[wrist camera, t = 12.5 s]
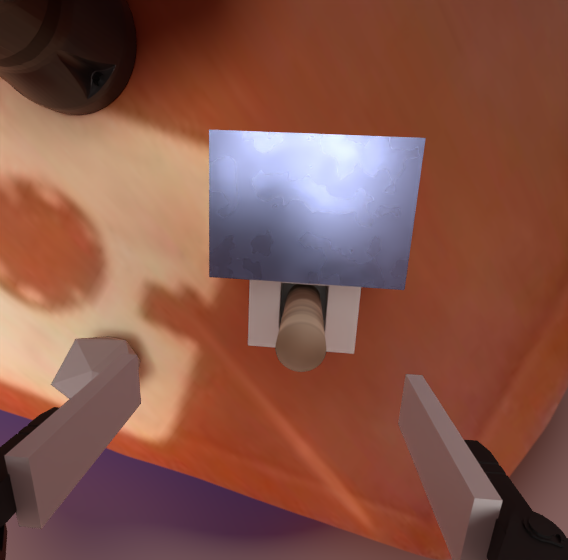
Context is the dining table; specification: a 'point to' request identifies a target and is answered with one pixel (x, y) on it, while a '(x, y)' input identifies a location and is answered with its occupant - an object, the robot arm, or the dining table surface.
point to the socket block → (335, 309)
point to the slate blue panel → (312, 207)
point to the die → (88, 362)
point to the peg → (301, 330)
